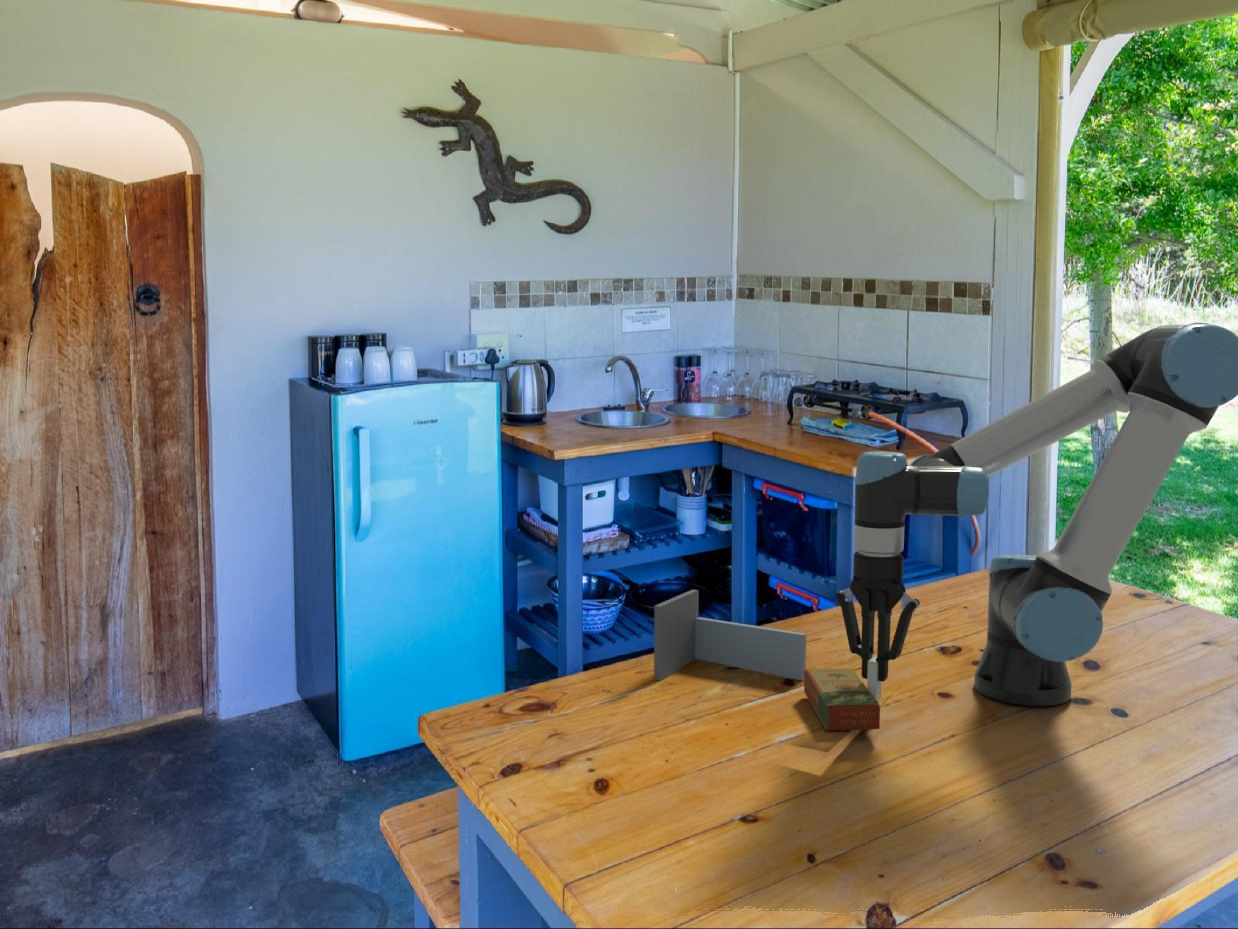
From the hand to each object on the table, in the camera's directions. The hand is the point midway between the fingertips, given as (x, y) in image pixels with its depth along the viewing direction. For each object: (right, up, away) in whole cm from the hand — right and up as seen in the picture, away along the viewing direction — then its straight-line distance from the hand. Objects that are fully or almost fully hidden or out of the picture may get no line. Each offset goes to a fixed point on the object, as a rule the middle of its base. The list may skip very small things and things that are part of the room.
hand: (873, 699), depth 166 cm
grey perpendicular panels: (-21, 0, +17) cm, 26 cm away
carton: (-6, -4, +6) cm, 9 cm away
